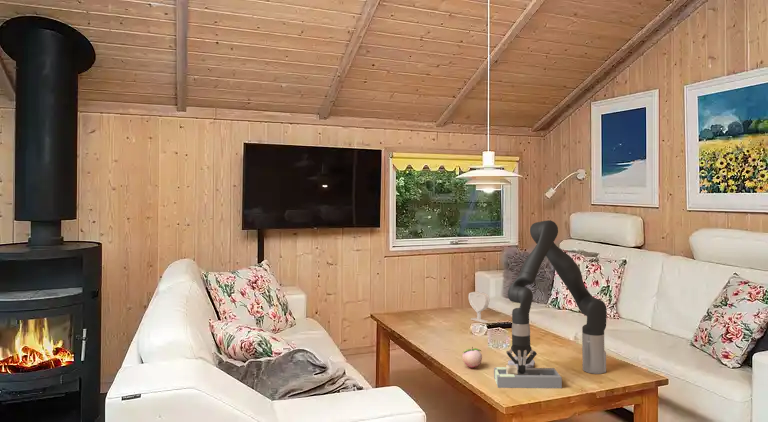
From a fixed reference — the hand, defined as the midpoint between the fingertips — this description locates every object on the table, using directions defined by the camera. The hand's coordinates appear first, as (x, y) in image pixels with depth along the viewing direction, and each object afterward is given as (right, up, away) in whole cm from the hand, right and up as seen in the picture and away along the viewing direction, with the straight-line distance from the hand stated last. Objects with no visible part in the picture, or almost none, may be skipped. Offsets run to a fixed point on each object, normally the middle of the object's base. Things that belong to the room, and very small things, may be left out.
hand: (521, 373), depth 215 cm
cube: (-4, -1, 0) cm, 4 cm away
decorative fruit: (-17, -4, +20) cm, 27 cm away
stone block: (+6, -4, +20) cm, 21 cm away
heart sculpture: (+3, -2, +110) cm, 110 cm away
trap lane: (+2, -4, 0) cm, 5 cm away
